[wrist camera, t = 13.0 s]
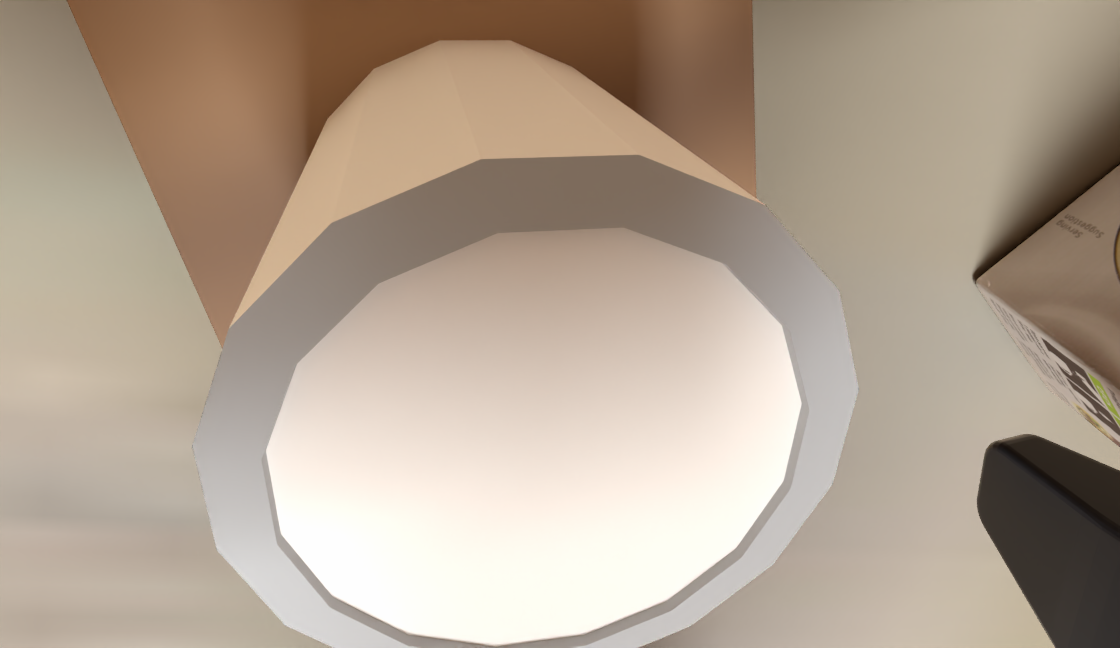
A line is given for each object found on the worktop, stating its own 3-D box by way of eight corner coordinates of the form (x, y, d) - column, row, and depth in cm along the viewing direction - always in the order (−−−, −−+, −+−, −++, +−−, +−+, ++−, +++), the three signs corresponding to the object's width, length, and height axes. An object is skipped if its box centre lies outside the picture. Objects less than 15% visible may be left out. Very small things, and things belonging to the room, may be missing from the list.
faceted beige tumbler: (611, 385, 17) (738, 686, 11) (254, 352, 15) (182, 697, 9) (720, 44, 14) (978, 218, 8) (283, -53, 12) (200, 83, 6)
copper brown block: (697, 278, 21) (759, 367, 18) (296, 370, 20) (282, 482, 17) (666, -187, 16) (748, -185, 12) (116, -87, 15) (42, -56, 11)
